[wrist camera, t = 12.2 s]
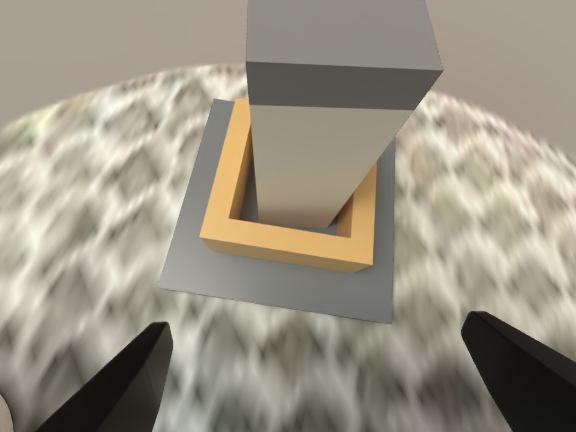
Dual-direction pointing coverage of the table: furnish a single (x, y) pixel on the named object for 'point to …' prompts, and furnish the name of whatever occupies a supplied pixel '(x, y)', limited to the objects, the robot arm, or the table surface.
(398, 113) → the plug
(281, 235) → the socket plate
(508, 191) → the table surface
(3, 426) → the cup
